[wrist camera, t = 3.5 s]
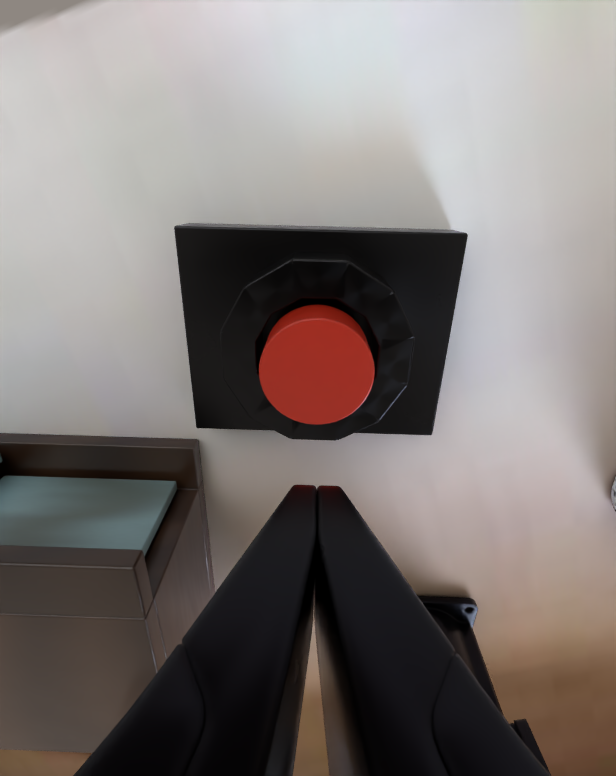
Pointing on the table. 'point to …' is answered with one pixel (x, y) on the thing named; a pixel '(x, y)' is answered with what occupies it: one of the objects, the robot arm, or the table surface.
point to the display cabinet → (93, 579)
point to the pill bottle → (614, 494)
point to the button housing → (312, 287)
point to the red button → (316, 365)
